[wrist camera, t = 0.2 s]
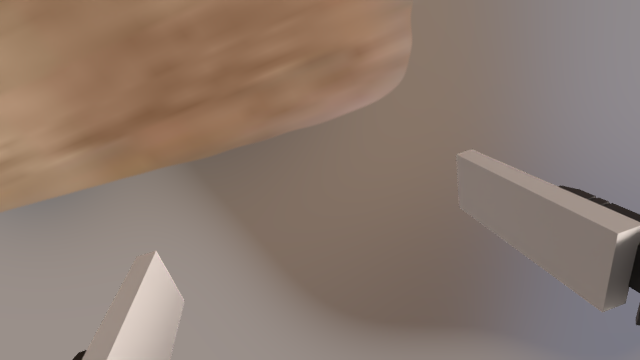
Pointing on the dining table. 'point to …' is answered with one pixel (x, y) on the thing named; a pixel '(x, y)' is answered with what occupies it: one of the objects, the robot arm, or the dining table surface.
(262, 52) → the dining table surface
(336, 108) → the dining table surface
